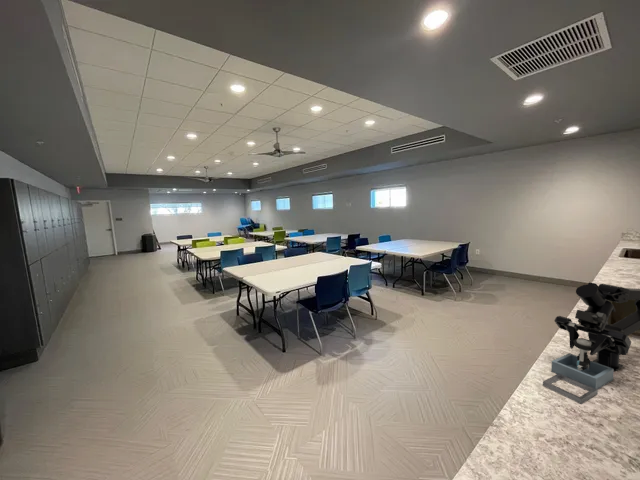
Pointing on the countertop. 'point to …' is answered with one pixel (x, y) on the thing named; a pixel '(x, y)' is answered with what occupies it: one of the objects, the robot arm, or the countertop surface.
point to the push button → (583, 353)
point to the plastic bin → (592, 376)
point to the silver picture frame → (578, 399)
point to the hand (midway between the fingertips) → (580, 351)
